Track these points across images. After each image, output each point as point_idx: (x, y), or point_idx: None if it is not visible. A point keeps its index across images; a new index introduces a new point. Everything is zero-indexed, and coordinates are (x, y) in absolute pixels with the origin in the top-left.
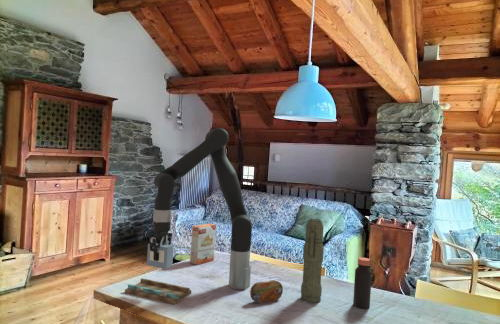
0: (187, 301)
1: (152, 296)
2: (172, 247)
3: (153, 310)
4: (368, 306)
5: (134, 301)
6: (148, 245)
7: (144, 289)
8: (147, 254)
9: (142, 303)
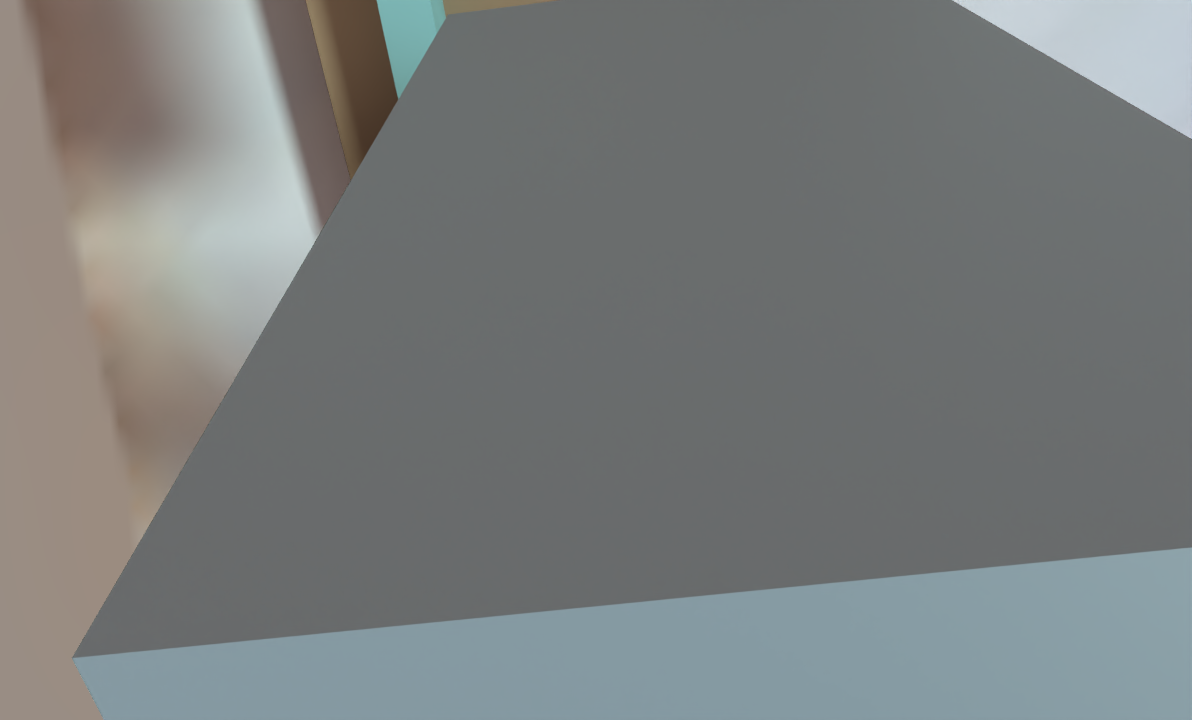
0: None
1: None
2: None
3: (142, 495)
4: None
5: (109, 57)
6: (175, 630)
7: (385, 17)
8: (366, 172)
9: (165, 225)
